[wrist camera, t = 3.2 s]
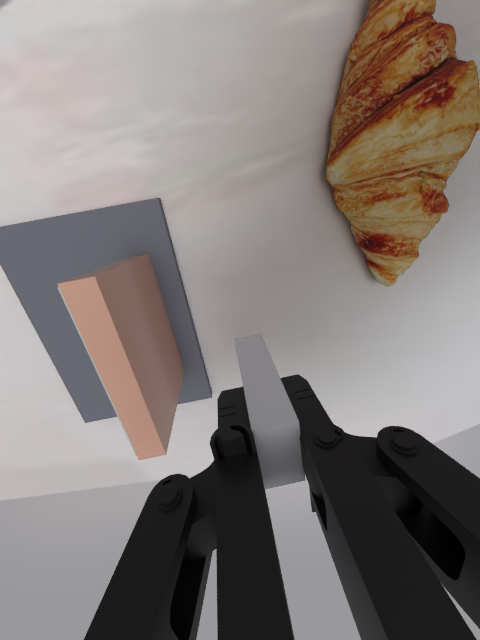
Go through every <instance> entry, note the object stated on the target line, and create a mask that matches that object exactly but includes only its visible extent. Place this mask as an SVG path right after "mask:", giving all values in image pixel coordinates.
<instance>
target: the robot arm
mask: <svg viewBox="0 0 480 640" xmlns="http://www.w3.org/2000/svg"><path fill="white" fill-rule="evenodd" d="M235 345H236V350H237V355H238V361H239V366H240V371H241V377H242V382H243V387H240V388H235V389H230V390H225V391H222V392H221V394H220V396H219V398H218V429H217V430H216V431H215V432H214V434H213V435H212V436H211V441H210V446H211V449H212V453H213V456H214V459H215V460H214V461H213V463H212V464H211V465H210V466H209V467H208V468H207V469H205V470H204V471H202V472H201V473H199V474H197V475H195V476H194V477H192V478H190V479H189V478H188V477H187V476H186V475H182V474H174V475H170V476H168V477H166V478H164V479H162V480H161V481H160V482H159V483H158V484H157V485H156V486H155V487H154V488H153V490H152V491H151V493H150V494H149V496H148V498H147V500H146V503H145V505H144V507H143V509H142V512H141V514H140V516H139V518H138V521H137V523H136V525H135V527H134V529H133V532H132V534H131V536H130V538H129V541H128V543H127V545H126V547H125V549H124V552H123V554H122V556H121V558H120V560H119V563H118V565H117V567H116V569H115V571H114V574H113V576H112V578H111V580H110V583H109V585H108V587H107V589H106V591H105V594H104V596H103V598H102V601H101V603H100V605H99V607H98V609H97V611H96V614H95V616H94V619H93V620H92V623H91V625H90V627H89V629H88V631H87V634H86V636H85V638H84V640H196V637H197V632H198V626H199V621H200V615H201V610H202V605H203V599H204V594H205V589H206V584H207V578H208V573H209V567H210V562H211V557H212V551H213V550H215V549H216V548H217V611H218V612H217V617H218V640H294V635H293V630H292V625H291V619H290V615H289V609H288V605H287V599H286V595H285V589H284V584H283V579H282V574H281V569H280V564H279V559H278V554H277V549H276V544H275V539H274V533H273V529H272V523H271V518H270V513H269V508H268V503H267V499H266V493H265V489H268V488H273V487H277V486H282V485H286V484H290V483H295V482H300V481H304V480H305V475H306V478H307V480H308V483H309V488H310V497H311V506H312V512H316V513H317V516H318V519H319V522H320V524H321V527H322V530H323V533H324V535H325V538H326V541H327V544H328V547H329V550H330V553H331V555H332V558H333V561H334V564H335V567H336V569H337V572H338V575H339V578H340V581H341V583H342V586H343V589H344V592H345V595H346V598H347V600H348V603H349V606H350V609H351V611H352V615H353V617H354V620H355V623H356V625H357V629H358V631H359V634H360V637H361V640H476V638H475V637H474V635H473V633H472V632H471V630H470V629H469V627H468V625H467V624H466V622H465V621H464V619H463V618H462V616H461V614H460V613H459V611H458V610H457V608H456V606H455V605H454V604H453V602H452V600H451V599H450V597H449V595H448V594H447V592H446V591H445V589H444V588H443V586H444V587H445V588H446V589H447V591H448V592H449V593H450V594H451V595H452V597H453V598H454V599H455V600H456V601H457V603H458V604H459V605H460V606H461V607H462V609H463V610H464V611H465V612H466V613H467V615H468V616H469V617H470V618H471V619H472V620H473V622H474V623H475V624H476V625H477V626H478V628H479V629H480V478H478V477H477V476H476V475H474V474H473V473H471V472H470V471H469V470H467V469H466V468H465V467H463V466H462V465H460V464H459V463H458V462H456V461H455V460H454V459H452V458H451V457H450V456H448V455H447V454H445V453H444V452H443V451H441V450H440V449H439V448H437V447H436V446H435V445H433V444H432V443H430V442H429V441H428V440H426V439H425V438H424V437H422V436H421V435H419V434H418V433H416V432H414V431H412V430H410V429H407V428H404V427H400V426H389V427H385V428H383V429H382V430H381V431H379V432H378V436H377V438H375V437H360V436H354V435H350V434H347V433H345V432H344V431H343V430H342V429H341V428H339V427H338V426H336V425H334V424H333V423H332V421H331V420H330V418H329V416H328V415H327V413H326V411H325V410H324V408H323V406H322V405H321V403H320V401H319V400H318V398H317V396H316V395H315V393H314V391H313V390H312V388H311V386H310V385H309V383H308V381H307V380H306V379H304V378H303V377H301V376H300V375H293V376H289V377H284V378H280V377H279V375H278V372H277V370H276V368H275V365H274V363H273V361H272V358H271V356H270V354H269V352H268V349H267V347H266V345H265V342H264V340H263V338H262V336H261V334H259V335H254V336H249V337H244V338H239V339H235ZM304 472H305V473H304ZM440 582H441V583H440ZM442 585H443V586H442Z"/></svg>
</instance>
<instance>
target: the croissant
mask: <svg viewBox="0 0 480 640" xmlns="http://www.w3.org/2000/svg"><path fill="white" fill-rule="evenodd" d="M435 6H436V0H370V2H369V8H368V12H367V14H366V17H365V20H364V22H363V23H362V25H361V27H360V28H359V30H358V31H357V33H356V35H355V38H354V40H353V42H352V44H351V45H350V48H349V51H348V56H347V62H346V65H345V68H344V77H343V80H342V84H341V87H340V91H339V94H338V101H337V106H336V107H335V109H334V112H333V117H332V132H331V142H330V148H329V154H328V159H327V164H326V179H327V180H328V181H329V182H330V184H331V186H333V188H332V193H333V197H334V199H335V202H336V206H337V208H338V210H339V211H342V212H344V215H345V217H346V218H347V219H349V221H350V223H351V232H352V233H353V235H354V236H355V242H356V243H357V244H358V246H359V247H360V248H361V249H362V251H363V252H364V253H365V254H366V258H367V259H366V261H367V265H368V267H369V268H370V270H371V272H372V274H373V276H374V277H375V279H376V280H377V281H378V282H379V283H381V284H382V285H385V286H391V285H392V284H394V283H395V282H396V279H397V277H398V276H399V275H401V274H402V273H403V272H404V271H405V269H408V268H409V267H410V266H411V264H412V261H415V260H416V259H417V257H418V256H419V252H418V248H419V244H420V242H421V241H422V239H424V238H425V237H426V236H427V235H428V234H429V233H430V229H432V228H433V227H434V226H435V224H436V223H438V222H439V221H440V217H441V214H443V213H446V212H447V210H448V206H449V203H448V200H447V198H446V197H445V195H444V194H443V190H444V189H445V188H446V181H447V179H448V177H449V176H450V175H451V173H452V172H453V171H454V169H455V168H456V166H457V164H458V161H459V159H461V158H462V157H463V155H464V154H465V153H466V152H467V150H468V149H469V147H470V145H471V143H472V140H473V138H474V136H475V134H476V132H477V131H478V130H479V129H480V89H479V79H478V73H477V67H476V66H475V62H474V61H473V60H472V61H469V62H466V61H461V60H458V59H457V58H456V51H455V45H456V34H455V30H454V27H453V26H451V25H449V24H443V23H437V22H436V20H434V19H433V16H432V14H433V13H434V12H435Z"/></svg>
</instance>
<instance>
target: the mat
mask: <svg viewBox="0 0 480 640" xmlns="http://www.w3.org/2000/svg"><path fill="white" fill-rule="evenodd" d="M148 253H149V256H150V259H151V263H152V266H153V269H154V273H155V276H156V279H157V282H158V286H159V289H160V292H161V295H162V299H163V302H164V305H165V308H166V312H167V315H168V318H169V322H170V325H171V328H172V331H173V335H174V338H175V341H176V344H177V348H178V351H179V354H180V358H181V361H182V364H183V367H184V375H183V380H182V384H181V389H180V393H179V398H178V402H177V404H182V403H187V402H192V401H197V400H202V399H207V398H212V392H211V388H210V384H209V380H208V377H207V373H206V369H205V365H204V362H203V358H202V354H201V350H200V347H199V343H198V339H197V335H196V332H195V328H194V324H193V320H192V317H191V313H190V309H189V305H188V302H187V298H186V294H185V290H184V287H183V283H182V279H181V275H180V272H179V268H178V264H177V260H176V257H175V253H174V249H173V245H172V242H171V238H170V234H169V230H168V227H167V223H166V219H165V215H164V212H163V208H162V204H161V200H160V199H159V198H154V199H149V200H144V201H138V202H133V203H127V204H122V205H117V206H111V207H106V208H100V209H95V210H90V211H84V212H79V213H73V214H68V215H62V216H57V217H52V218H46V219H41V220H35V221H30V222H25V223H19V224H14V225H8V226H3V227H0V265H1V267H2V269H3V270H4V272H5V274H6V276H7V278H8V280H9V282H10V283H11V285H12V287H13V289H14V291H15V293H16V295H17V297H18V298H19V300H20V302H21V304H22V306H23V308H24V310H25V311H26V313H27V315H28V317H29V319H30V321H31V323H32V324H33V326H34V328H35V330H36V332H37V334H38V336H39V338H40V339H41V341H42V343H43V345H44V347H45V349H46V351H47V352H48V354H49V356H50V358H51V360H52V362H53V364H54V365H55V367H56V369H57V371H58V373H59V375H60V377H61V378H62V380H63V382H64V384H65V386H66V388H67V390H68V392H69V393H70V395H71V397H72V399H73V401H74V403H75V405H76V406H77V408H78V410H79V412H80V414H81V416H82V418H83V419H84V421H85V423H87V422H92V421H97V420H102V419H107V418H112V417H117V414H116V412H115V410H114V408H113V406H112V404H111V401H110V399H109V397H108V395H107V393H106V391H105V389H104V386H103V384H102V382H101V380H100V378H99V376H98V373H97V371H96V369H95V367H94V365H93V363H92V361H91V358H90V356H89V354H88V352H87V350H86V348H85V346H84V343H83V341H82V339H81V337H80V335H79V333H78V331H77V328H76V326H75V324H74V322H73V320H72V318H71V316H70V313H69V311H68V309H67V307H66V305H65V303H64V301H63V298H62V296H61V294H60V292H59V290H58V288H57V287H59V286H58V283H60V282H63V281H66V280H68V279H71V278H74V277H76V276H79V275H82V274H85V273H87V272H90V271H93V270H95V269H98V268H101V267H103V266H106V265H109V264H111V263H114V262H117V261H119V260H122V259H125V258H128V257H133V256H138V255H143V254H148Z"/></svg>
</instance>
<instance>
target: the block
mask: <svg viewBox="0 0 480 640" xmlns="http://www.w3.org/2000/svg"><path fill="white" fill-rule="evenodd" d="M58 286H59V287H57V288H58V290H59V292H60V294H61V296H62V298H63V301H64V303H65V305H66V307H67V309H68V311H69V313H70V316H71V318H72V320H73V322H74V324H75V326H76V328H77V331H78V333H79V335H80V337H81V339H82V341H83V343H84V346H85V348H86V350H87V352H88V354H89V356H90V358H91V361H92V363H93V365H94V367H95V369H96V371H97V373H98V376H99V378H100V380H101V382H102V384H103V386H104V389H105V391H106V393H107V395H108V397H109V399H110V401H111V404H112V406H113V408H114V410H115V412H116V414H117V416H118V419H119V421H120V423H121V425H122V427H123V429H124V431H125V434H126V436H127V438H128V440H129V442H130V444H131V446H132V449H133V451H134V453H135V455H136V456H137V457H138V459H139V460H142V459H147V458H152V457H157V456H162V455H166V452H167V448H168V443H169V439H170V434H171V430H172V425H173V421H174V416H175V411H176V407H177V402H178V398H179V393H180V389H181V384H182V380H183V375H184V367H183V364H182V361H181V358H180V354H179V351H178V348H177V344H176V341H175V338H174V335H173V331H172V328H171V325H170V322H169V318H168V315H167V312H166V308H165V305H164V302H163V299H162V295H161V292H160V289H159V286H158V282H157V279H156V276H155V273H154V269H153V266H152V263H151V259H150V256H149V253H148V254H143V255H138V256H133V257H128V258H125V259H122V260H119V261H117V262H114V263H111V264H109V265H106V266H103V267H101V268H98V269H95V270H93V271H90V272H87V273H85V274H82V275H79V276H76V277H74V278H71V279H68V280H66V281H63V282H60V283H58Z"/></svg>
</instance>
